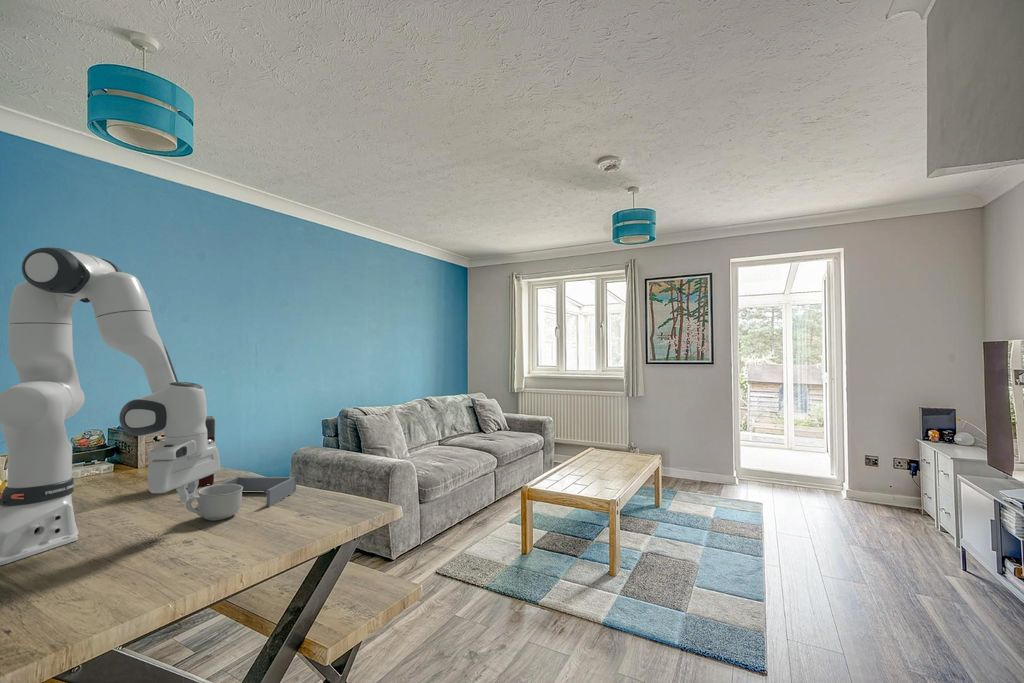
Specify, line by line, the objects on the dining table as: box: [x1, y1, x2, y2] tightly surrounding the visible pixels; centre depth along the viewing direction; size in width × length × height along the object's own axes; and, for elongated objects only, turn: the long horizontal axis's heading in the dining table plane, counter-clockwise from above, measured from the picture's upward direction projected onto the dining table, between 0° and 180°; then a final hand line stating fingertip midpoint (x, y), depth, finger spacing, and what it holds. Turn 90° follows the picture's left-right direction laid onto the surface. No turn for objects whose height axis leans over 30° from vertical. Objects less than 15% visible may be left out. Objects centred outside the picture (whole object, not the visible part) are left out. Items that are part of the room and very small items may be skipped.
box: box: [217, 476, 297, 507], centre depth 145 cm, size 15×20×5 cm
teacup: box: [185, 483, 243, 521], centre depth 128 cm, size 14×11×8 cm
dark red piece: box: [188, 415, 216, 487], centre depth 164 cm, size 9×11×28 cm
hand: (187, 500), depth 117 cm, fingers closed
